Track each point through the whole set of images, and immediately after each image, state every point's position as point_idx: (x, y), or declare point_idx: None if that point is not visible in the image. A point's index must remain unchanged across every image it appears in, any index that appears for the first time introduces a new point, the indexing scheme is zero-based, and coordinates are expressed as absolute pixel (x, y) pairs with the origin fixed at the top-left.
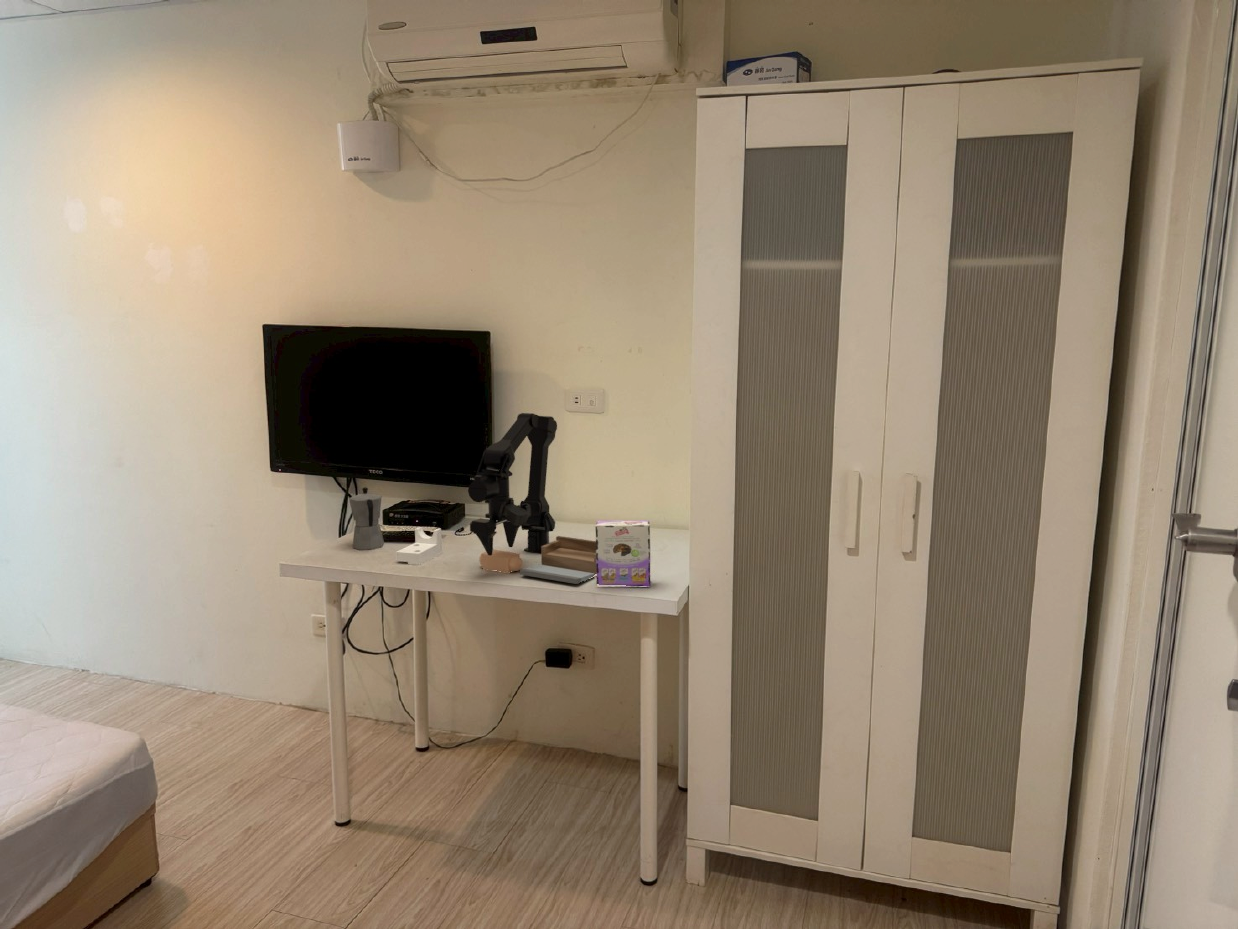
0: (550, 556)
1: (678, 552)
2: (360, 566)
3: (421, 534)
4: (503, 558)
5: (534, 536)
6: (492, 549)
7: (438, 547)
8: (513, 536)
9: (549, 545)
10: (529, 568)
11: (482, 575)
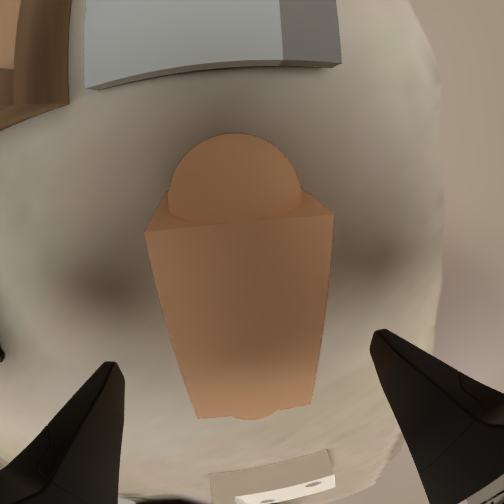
0: (24, 25)
1: None
2: (365, 467)
3: None
4: (325, 259)
5: None
6: (404, 353)
7: (228, 488)
8: (80, 428)
9: None
10: (252, 34)
11: (366, 280)
